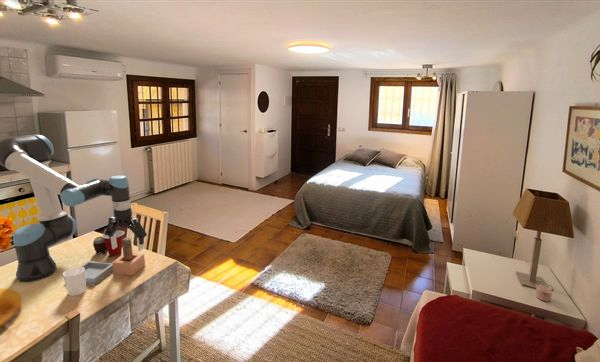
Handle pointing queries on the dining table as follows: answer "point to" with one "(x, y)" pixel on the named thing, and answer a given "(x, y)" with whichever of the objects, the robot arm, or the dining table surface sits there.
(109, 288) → the dining table surface
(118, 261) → the terracotta block
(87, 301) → the dining table surface
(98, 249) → the mate gourd
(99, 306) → the dining table surface
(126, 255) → the walnut dowel
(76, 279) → the white cup
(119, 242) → the plastic cup
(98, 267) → the grey tray
